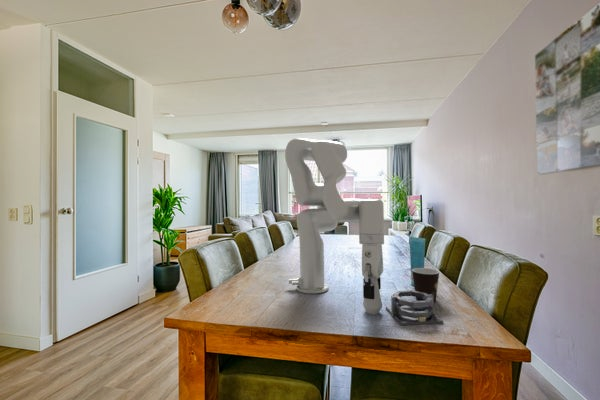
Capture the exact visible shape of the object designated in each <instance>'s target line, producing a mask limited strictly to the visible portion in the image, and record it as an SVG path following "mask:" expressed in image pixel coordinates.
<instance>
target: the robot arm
mask: <svg viewBox="0 0 600 400" xmlns="http://www.w3.org/2000/svg"><path fill="white" fill-rule="evenodd" d="M284 157H285V162H286V167H287V169H288V171H289V174H290V177H291V183H292V186H293V187H292V188H293V191H294V192H293V193H294V196H295V197H294V198H295V201H296V204H298V205H299V206H302V207H317V208H307V209H303V210H301V211H300V212H299V213H298V214H297V217H296V227H297V232H298V238H299V240H298V242H299V276H298V277H297V278H289V279H288V284H289V285H291V286H296V290H297V291H298V292H300V293H301V294H302V293H303V294H310V295H311V294H312V295H313V294H321V293H325V292H327V291H328V290H329V284H327V283H326V282H325V245H324V240H323V238H322V235H320V233H324V232H331V231H333V230H335V229H336V228H337V226H338V223H346V222H348V223H349V222H350V223H351V222H358V237H359V238H358V241H359V242H358V243H359V245H361V246H362V247H361V274H362V277H363V280H362V281H363V283H362V289H363V290H362V291H363V295H362V296H363V299H364V298H366V299H374V298H375V294H374V285H373V283H374V277H376V278H378V279H377V281H378V286H379V291H380V290H381V288H382V287H381V276H382V274H383V272H384V258H383V257H384V256H383V255H384V254H383V245H384V244H385V224H384V223H385V219H384V218H385V217H384V216H385V214H384V213H385V211H384V206H385V205H384V202H383V200H382V199H378V198H374V199H372V198H367V199H364V198H342V197H341V195H340V192H339V191H338V189H337V184H338V183H340V182H342V181H343V180H344V178H345V177H346V176H347V169H346V168H345V165H344V162H346V160H347V158H348V150H347V148H346V146H345V145H344V144H343V143H342V142H338V141H333V140H332V141H331V140H327V139H326V140H325V139H322V140H318V139H309V138H302V137H299V138H298V137H296V138H293V139H291V140H290V141H288V142H287V144H286V147H285V154H284ZM305 161H313V162H315V164H316V167H317V169H318V171H319V172H320V174H321V176H322V178H323V181H324V182H323V183H320V182H319V183H318V182H315V180H314V177H313V173H312V171H311V168H310V167H309V165H308V164H306V162H305ZM370 278H371V279H370Z"/></svg>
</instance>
